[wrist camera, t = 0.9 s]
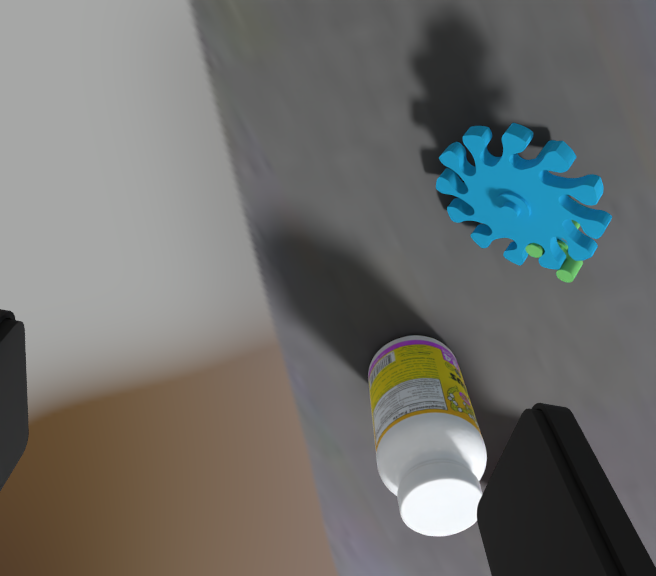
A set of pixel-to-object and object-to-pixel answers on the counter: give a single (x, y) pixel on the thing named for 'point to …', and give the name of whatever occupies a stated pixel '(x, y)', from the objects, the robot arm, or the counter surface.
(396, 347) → the supplement bottle
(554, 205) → the gear
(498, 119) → the counter surface
